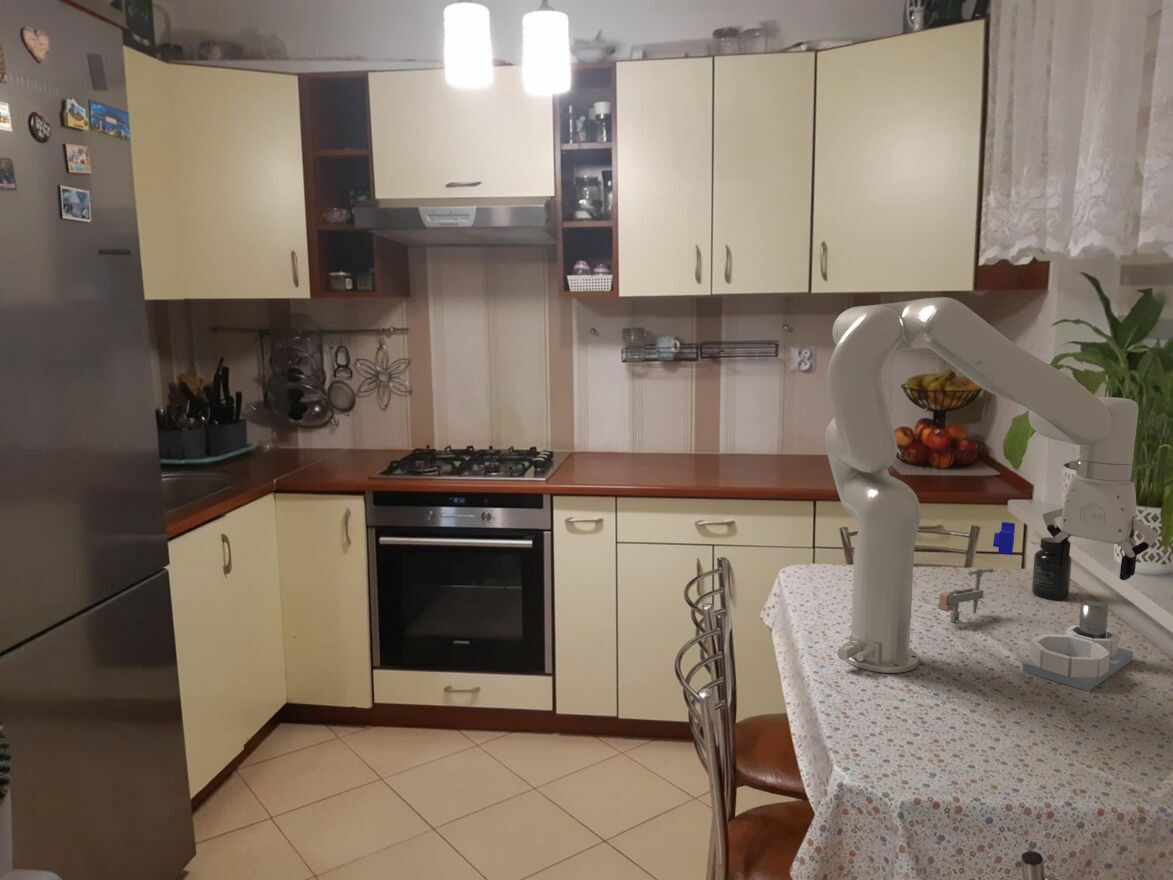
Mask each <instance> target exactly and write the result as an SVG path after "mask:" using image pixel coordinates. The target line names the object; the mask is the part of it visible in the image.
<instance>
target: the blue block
mask: <svg viewBox="0 0 1173 880" xmlns="http://www.w3.org/2000/svg"><path fill="white" fill-rule="evenodd" d="M1015 527H1016V523H1015V522H1008V521H1007V522H1006V521H1002V522H1001V527H1000V528H1001V529H1000V530H999V532H994V535H993V536H994V537H993V543H992V547H994V548H998V550H997V553H998V554H1001V555H1008V556H1012V555H1013V549H1014V544H1015V531H1016V530H1015V529H1016V528H1015Z"/></svg>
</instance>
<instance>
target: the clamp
mask: <svg viewBox="0 0 1173 880" xmlns="http://www.w3.org/2000/svg"><path fill="white" fill-rule="evenodd" d="M974 569H975V570H968V572H967V574H968V576H973V575H974V576H975V584H974V587H970V588H969V587H968V588H964V589H963V588H962V589H954V590H952V591H944V592H941V593H940V594H939V602H938V605H937V609H938V610H941V611H943V612H948V613H949V611H951V612H950V617H949V622H950V623H953V622H956V621H959V620H960V612H959V606H960V603H965V602H970V601H972V602H973V603H972V608H973V609H972V613H974V614H975V613H977V607H978V604H979V603H978V602H979V600H980V599H983V598H984V590H983V589H980V585H981V577H982V576H983V574H984V573H993V572H994V571H995V570H994V568H993V567H990V568H988V569H983V568H982V567H975V568H974Z"/></svg>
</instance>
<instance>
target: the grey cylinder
mask: <svg viewBox="0 0 1173 880" xmlns="http://www.w3.org/2000/svg"><path fill="white" fill-rule="evenodd" d="M1108 614H1109V605H1108V604H1106V603H1104V602H1101V601H1095V600H1082V601H1080V610H1079V624H1078V625H1079V635H1081V636H1085V637H1089V638H1093V639H1106V631H1107V629H1108Z"/></svg>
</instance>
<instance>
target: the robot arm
mask: <svg viewBox="0 0 1173 880" xmlns="http://www.w3.org/2000/svg"><path fill="white" fill-rule="evenodd" d="M832 339H833V341H834V343H835V345H836V346H835V347H834V349H833V352H832V355H831V358H830V360H829V363H828V367H827V373H826V385H827V393H828V398H829V402H830V407H831V412H832V416H833V418H832V419H831V420H830V422H829V424H828V425H827V427H826V430H825V435H824V436H825V437H824V446H825V452H826V455H827V458H828V462H829V466H830V469H831V473H832V477H833V480H834V484H835V487H836V490H837V494H838V497H839V499H840V502H841V504H842V507H843V508H844V510H845V511H846V513H848V514H849V516H851V517H852V518H853V519H855V520H857V522H858V528H857V529H858V530H857V535H856V539H855V544H854V548H853V560H852V561H853V563H852V564H853V565H852V569H853V573H852V575H853V576H852V598H851V599H852V603H851V626H850V635H849V639H848V641H847V642H845V643H844V644H842V645H841V647H840V648H839V649H837V652H836V653H837V654H836V655H837V658H839V660H840V661H845V662H846V663H848V664H849V665H852V666H853V667H855V668H859V669H862V670H865V671H870V672H875V673H883V674H896V673H897V674H898V673H899V674H900V673H906V672H910V671H912V670H914V669H917V667H918V665H919V660H920V659H919V657H920V656H919V654H918V653H917V652H916V651H915V650H914V649H912V648H910V644H911V643H910V641H911V623H912V621H911V620H912V599H913V581H914V561H915V560H914V557H915V547H916V541H917V535H918V532H919V527H920V523H921V505H920V501H919V499H918V496H917V494H916V493H915V492H914V490H913V489H912V488H911V487H910V485H908V484H906V483H905V482H904V481H902V480H900V479H898V478H896V477H894V476H892V475H890V473H889V469H888V468H889V467H891V465H892V464H893V463H894V462H895V460H896V457H897V454H898V441H897V440H898V439H897V436H896V434H895V430H894V426H893V423H892V419H891V416H890V411H889V407H888V406H887V401H886V399H885V392H884V389H883V388H884V387H883V371H884V369H885V366H886V363H887V361H888V360H889V358H890V356H891V355H892V354H893V353H895V352H903V351H909V350H915V349H916V350H917V349H929V350H931V351H933V352H934V353H935V354H937V355H938V356H939V357H940V358H942V359H943V360H944V361H945V362H947V363H948V364H950V365H951V366H952V367H953V368H955V369H956V370H957V371H959V372H960V373H961V374H963V375H964V376H965V377H966V378H967V379H969V380H970V381H972V382H973V383H974V384H975V385H976V386H978V387H979V388H981V389H983V390H985V391H987V392H989V393H990V394H993V395H994V396H998V397H1000V398H1003V399H1005V400H1009V401H1012V402H1014V403H1016V404H1018V405H1020V406H1022V407H1024V408H1025V409H1028V410H1029V411H1028V422H1029V425H1030V427H1031V428H1032V429H1033V430H1034V431H1035V432H1036V433H1037V434H1039V435H1041V436H1042V437H1045V438H1048V439H1052V440H1056V441H1060V442H1065V443H1070V444H1073V445H1077V446H1080V449H1079V450H1080V452H1079V458H1078V459H1077V460H1070V462H1069V468H1070V469H1073V470H1076V475H1073V476H1071V478H1070V481H1069V483H1068V486H1067V490H1066V493H1065V497H1064V502H1063V507H1062V508H1059V509H1055V510H1053V511H1049V512H1046V513H1043V514H1042V519H1043V521H1044V524H1045V526H1046V530H1047V531H1048V533H1049V534H1050V535H1051V537H1052V538H1054V541H1055V542H1057V543H1056V553H1055V559H1057V566H1063V565H1065V564H1068V562H1069V555H1070V551H1071V541H1069V538H1071V537H1076V538H1080V539H1081V538H1082V539H1086V540H1091V541H1096V542H1102V543H1108V544H1113V545H1119V547H1120V548H1121V550H1122V551H1123V553H1124V555H1123V556H1122V557H1121V560H1120V561H1121V562H1120V570H1119V579H1120V580H1121V581H1126V580H1128V579H1130V578H1131V577H1132V576H1134V575H1135V573H1136V572H1135V571H1136V564H1137V557H1138V556H1139V555H1141V553H1143V552H1145V551H1147V550H1149V549H1150V548H1151V547H1152V545H1153V544H1154V543H1155V542H1156V541H1157V539H1158V538H1159V537H1160V533H1158V531H1155V529H1153V528H1151V527H1149V526H1148V525H1147V524H1145V523H1144V522H1142V521H1140V520H1139V519H1137V496H1136V487H1135V486H1136V485H1135V483H1134V482H1132V481H1131V477H1132V469H1133V461H1134V460H1133V459H1134V451H1135V444H1136V443H1135V442H1136V435H1137V425H1138V421H1139V420H1138V417H1139V404H1138V403H1137V402H1136V401H1135V400H1133V399H1130V398H1127V397H1126V398H1123V397H1115V396H1114V397H1113V396H1111V397H1110V396H1096V395H1095V394H1093V393H1092V392H1091V391H1090V390H1088V389H1087V388H1086V387H1084V386H1083V385H1082V384H1080V383H1079V382H1078V381H1077V380H1076V379H1074V378H1073V377H1071V376H1069V375H1068V374H1066V373H1065V372H1063V371H1062V370H1059V369H1058V368H1056V367H1054V366H1053V365H1051V364H1049V363H1047V362H1045V361H1044V360H1042V359H1040V358H1039V357H1037V356H1036V355H1034V354H1032V353H1031V352H1029V351H1027V350H1025V349H1023V348H1021V346H1018V345H1017V344H1015V343H1014V342H1013V341H1011V340H1010V339H1009V338H1008V337H1006V335H1003V334H1002V333H1001V332H999V331H998V329H996V328H995V327H994V326H992V325H991V324H990V323H988V322H987V321H986V320H984V319H983V318H982V317H981V316H979V314H977V313H976V312H974V311H973V310H972V309H971V308H970V307H968V306H966V305H965V304H964V303H963V302H961V301H959V300H957V299H954V298H951V297H946V296H945V297H944V296H943V297H942V296H941V297H928V298H918V299H913V300H906V301H899V302H891V303H880V304H873V305H859V306H854V307H850V308H848V309H846V310H844V311H843V312H841V313H840V314H839V315H838V316H837V318H836V319H835V320H834V323H833V326H832ZM1059 517H1060V527H1059V526H1058V525H1057V523H1056V519H1057V518H1059ZM1136 531H1137V532H1138V533H1139V534H1141V535H1143V536H1144V538H1143V539H1142V541H1141V542H1139V544H1136V543H1135V541H1134V540H1133V539H1134V537H1135V535H1136Z"/></svg>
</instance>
